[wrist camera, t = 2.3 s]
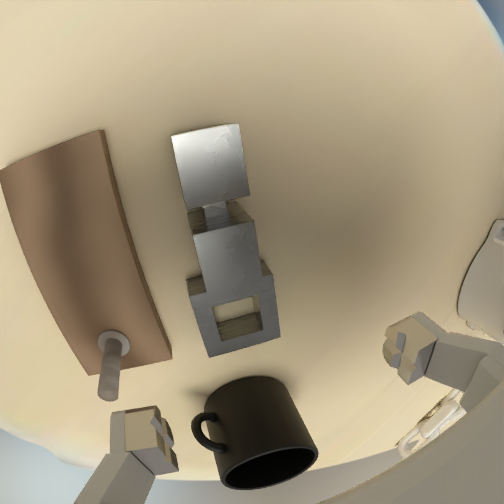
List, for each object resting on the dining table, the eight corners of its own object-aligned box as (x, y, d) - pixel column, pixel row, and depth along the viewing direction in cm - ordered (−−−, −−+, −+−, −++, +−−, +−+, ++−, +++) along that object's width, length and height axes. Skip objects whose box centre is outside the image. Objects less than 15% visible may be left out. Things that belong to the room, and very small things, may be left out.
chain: (399, 444, 54) (412, 462, 49) (390, 444, 52) (403, 463, 46) (488, 353, 50) (504, 368, 44) (485, 346, 47) (502, 362, 41)
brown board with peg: (103, 129, 16) (72, 131, 10) (171, 347, 24) (178, 410, 18) (7, 167, 15) (-48, 190, 9) (90, 364, 23) (81, 425, 17)
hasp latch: (152, 139, 18) (147, 142, 14) (241, 120, 19) (261, 119, 15) (204, 339, 25) (213, 376, 21) (271, 320, 26) (289, 353, 22)
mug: (207, 359, 26) (229, 441, 18) (303, 383, 31) (338, 445, 23) (167, 415, 28) (178, 487, 20) (257, 430, 33) (280, 489, 25)
